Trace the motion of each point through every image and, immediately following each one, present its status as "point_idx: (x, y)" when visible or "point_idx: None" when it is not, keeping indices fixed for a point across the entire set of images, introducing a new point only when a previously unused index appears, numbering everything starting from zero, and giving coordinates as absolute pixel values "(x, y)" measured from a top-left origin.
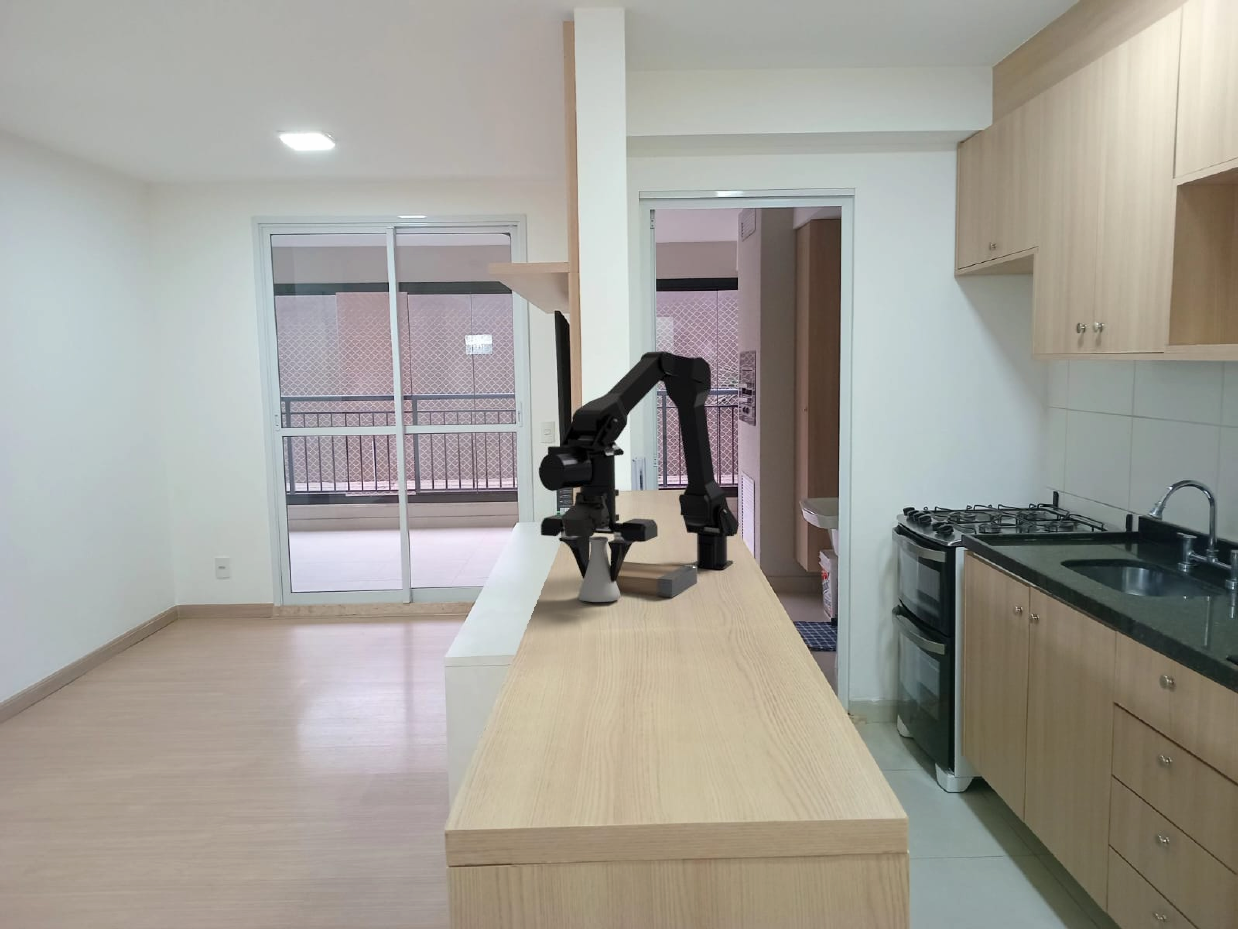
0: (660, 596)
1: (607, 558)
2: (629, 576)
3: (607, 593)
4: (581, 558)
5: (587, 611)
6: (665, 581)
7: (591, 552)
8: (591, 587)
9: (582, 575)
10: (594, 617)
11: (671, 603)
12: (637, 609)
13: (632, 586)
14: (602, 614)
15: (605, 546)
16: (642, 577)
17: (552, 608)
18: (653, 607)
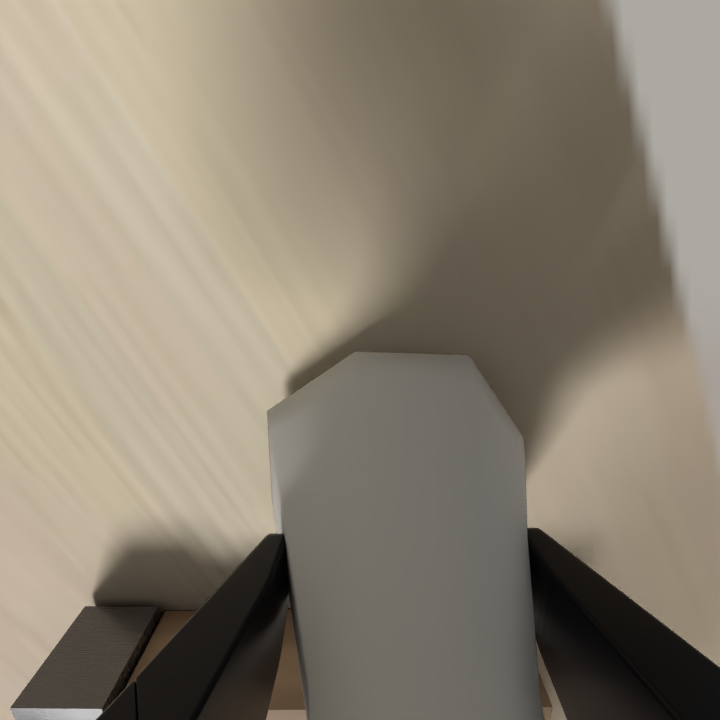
0: (145, 607)
1: None
2: (303, 709)
3: (290, 427)
4: (655, 703)
5: (336, 215)
6: (61, 692)
7: None
8: (401, 416)
9: (550, 542)
10: (210, 88)
11: (41, 540)
12: (105, 380)
13: (294, 647)
14: (210, 188)
15: None
16: None
17: (591, 183)
18: (61, 447)
